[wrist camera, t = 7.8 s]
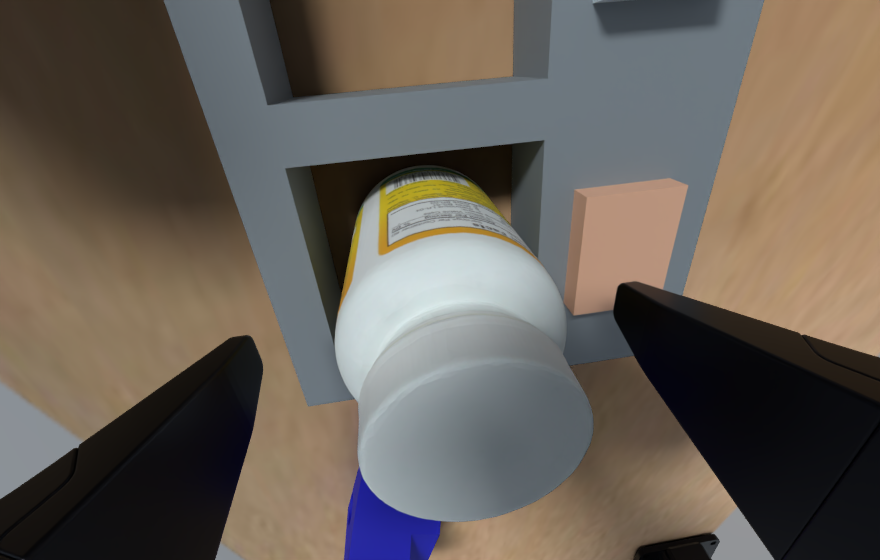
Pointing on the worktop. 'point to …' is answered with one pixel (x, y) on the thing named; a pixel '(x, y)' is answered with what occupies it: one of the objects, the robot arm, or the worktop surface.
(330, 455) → the worktop surface
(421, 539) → the cable clip
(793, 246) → the worktop surface
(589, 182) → the board
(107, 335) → the worktop surface
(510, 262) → the supplement bottle
